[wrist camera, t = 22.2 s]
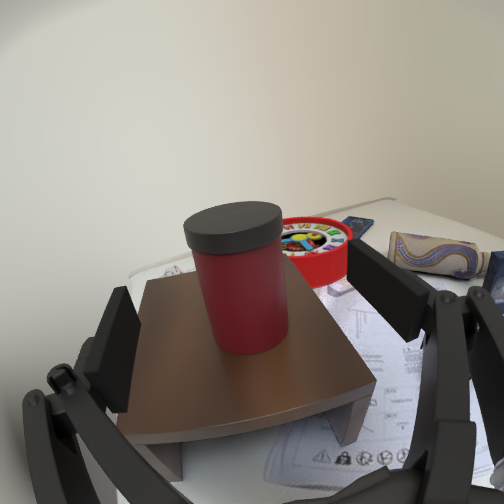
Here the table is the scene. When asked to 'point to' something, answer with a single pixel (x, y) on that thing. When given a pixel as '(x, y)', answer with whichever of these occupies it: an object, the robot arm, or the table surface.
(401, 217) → the table surface
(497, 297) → the vhs cassette tape
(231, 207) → the canister
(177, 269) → the game controller
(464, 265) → the decorative bottle
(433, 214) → the table surface
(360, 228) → the smartphone
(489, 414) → the robot arm
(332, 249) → the toy clock
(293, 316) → the shelf
